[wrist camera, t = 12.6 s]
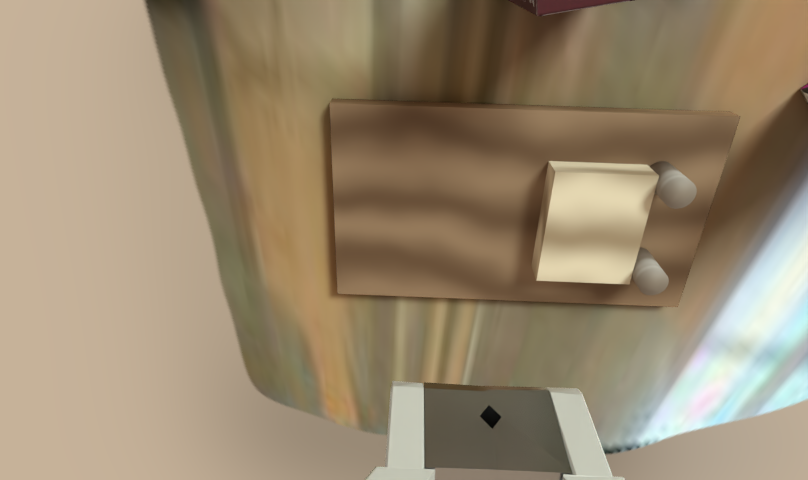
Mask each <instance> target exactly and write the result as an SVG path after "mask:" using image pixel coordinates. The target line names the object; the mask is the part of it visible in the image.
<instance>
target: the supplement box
mask: <svg viewBox="0 0 808 480" xmlns="http://www.w3.org/2000/svg"><path fill="white" fill-rule="evenodd" d="M509 1H511V2H513V3H514V4H516V5H518V6H520V7H522V8H524V9H526V10H527V11H529V12H531V13H533V14H535V15H537V16H544V15H550V14H556V13H562V12H568V11H573V10H579V9H585V8H591V7H596V6H602V5H608V4H614V3H620V2H626V1H633V0H509Z"/></svg>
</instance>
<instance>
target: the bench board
mask: <svg viewBox="0 0 808 480" xmlns="http://www.w3.org/2000/svg"><path fill="white" fill-rule="evenodd" d="M329 104H330V127H331V151H332V175H333V199H334V222H335V246H336V270H337V293H338V294H358V295H384V296H410V297H435V298H461V299H486V300H512V301H538V302H563V303H589V304H615V305H640V306H666V307H678V305H679V302H680V299H681V296H682V293H683V290H684V287H685V284H686V281H687V278H688V275H689V272H690V269H691V266H692V262H693V259H694V256H695V253H696V250H697V247H698V244H699V241H700V238H701V235H702V232H703V229H704V226H705V223H706V220H707V217H708V214H709V211H710V208H711V205H712V202H713V199H714V196H715V193H716V190H717V187H718V184H719V181H720V178H721V175H722V171H723V168H724V165H725V162H726V159H727V156H728V153H729V150H730V147H731V144H732V141H733V138H734V135H735V132H736V129H737V126H738V123H739V120H740V116H738V115H736V114H734V113H732V112H722V111H692V110H661V109H631V108H600V107H570V106H539V105H508V104H478V103H447V102H417V101H386V100H356V99H332V100H331V102H330V103H329ZM549 161H563V162H589V163H616V164H643V165H648V166H649V167H650V168H651V169H652V170H653V171H654V172H656V173H657V174H658V175H659V178H658V182H657V186H656V189H655V193H654V197H653V200H652V204H651V208H650V211H649V215H648V219H647V222H646V226H645V229H644V233H643V237H642V240H641V244H640V248H639V251H638V255H637V259H636V262H635V266H634V270H633V273H632V277H631V281H630V284H605V283H581V282H557V281H536V278H535V275H534V272H533V269H532V266H531V265H532V259H533V253H534V247H535V240H536V234H537V228H538V222H539V216H540V210H541V204H542V198H543V192H544V186H545V180H546V174H547V168H548V162H549Z"/></svg>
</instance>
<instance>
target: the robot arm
mask: <svg viewBox="0 0 808 480" xmlns="http://www.w3.org/2000/svg"><path fill="white" fill-rule="evenodd" d="M365 480H626V479H624V478H623V477H613V476H612V473H611V470H610V468H609V465H608V462H607V460H606V457H605V454H604V451H603V449H602V446H601V443H600V440H599V438H598V435H597V432H596V430H595V427H594V424H593V421H592V419H591V416H590V413H589V411H588V408H587V405H586V402H585V400H584V397H583V394H582V393H581V391H580V390H579V389H578V388H541V387H507V386H473V385H457V384H442V383H426V382H424V386H423V383H414V382H400V381H393V382H392V386H391V393H390V407H389V421H388V435H387V449H386V463H385V467H375V468H374V469H373V470H372V472H371V473H370V474H369V475H368V476H367V478H366V479H365Z"/></svg>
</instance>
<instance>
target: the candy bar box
mask: <svg viewBox="0 0 808 480" xmlns="http://www.w3.org/2000/svg"><path fill="white" fill-rule="evenodd" d="M800 90H801V92H802V94H803V97H804V99H805V100H806V102H807V103H808V84H807V85H805V86H804V87H802V88H801V89H800Z"/></svg>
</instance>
